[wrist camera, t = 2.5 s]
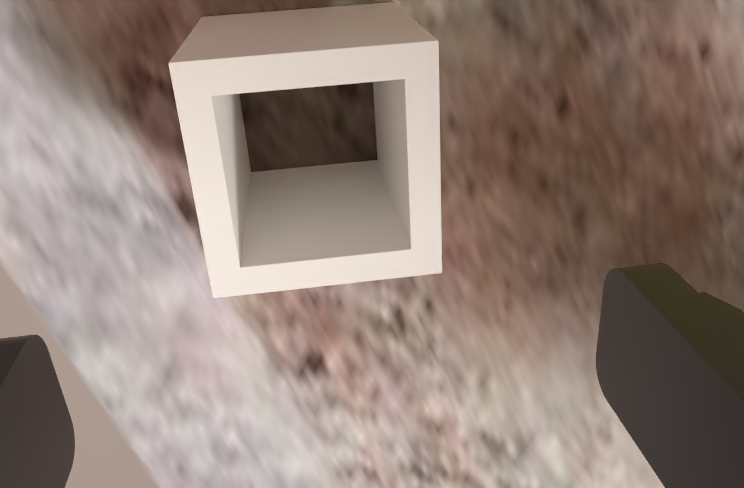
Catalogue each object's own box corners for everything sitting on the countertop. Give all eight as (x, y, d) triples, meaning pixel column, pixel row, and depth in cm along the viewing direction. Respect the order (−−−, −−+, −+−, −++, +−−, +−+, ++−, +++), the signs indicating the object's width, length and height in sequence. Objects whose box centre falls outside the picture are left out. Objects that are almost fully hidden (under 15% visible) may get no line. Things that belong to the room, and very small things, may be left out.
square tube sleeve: (393, 2, 22) (438, 40, 15) (400, 179, 24) (441, 273, 18) (201, 16, 21) (168, 63, 15) (231, 195, 24) (212, 298, 18)
